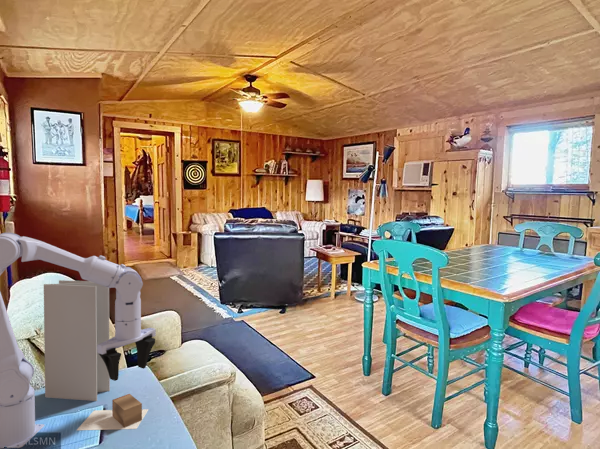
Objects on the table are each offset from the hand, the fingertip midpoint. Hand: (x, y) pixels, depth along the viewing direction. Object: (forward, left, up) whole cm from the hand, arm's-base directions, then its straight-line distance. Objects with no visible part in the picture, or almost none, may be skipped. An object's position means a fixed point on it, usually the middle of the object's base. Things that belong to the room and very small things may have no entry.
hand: (128, 373), depth 90 cm
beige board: (-2, -4, -9) cm, 11 cm away
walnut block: (+2, -4, -9) cm, 10 cm away
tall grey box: (-16, +8, -10) cm, 20 cm away
